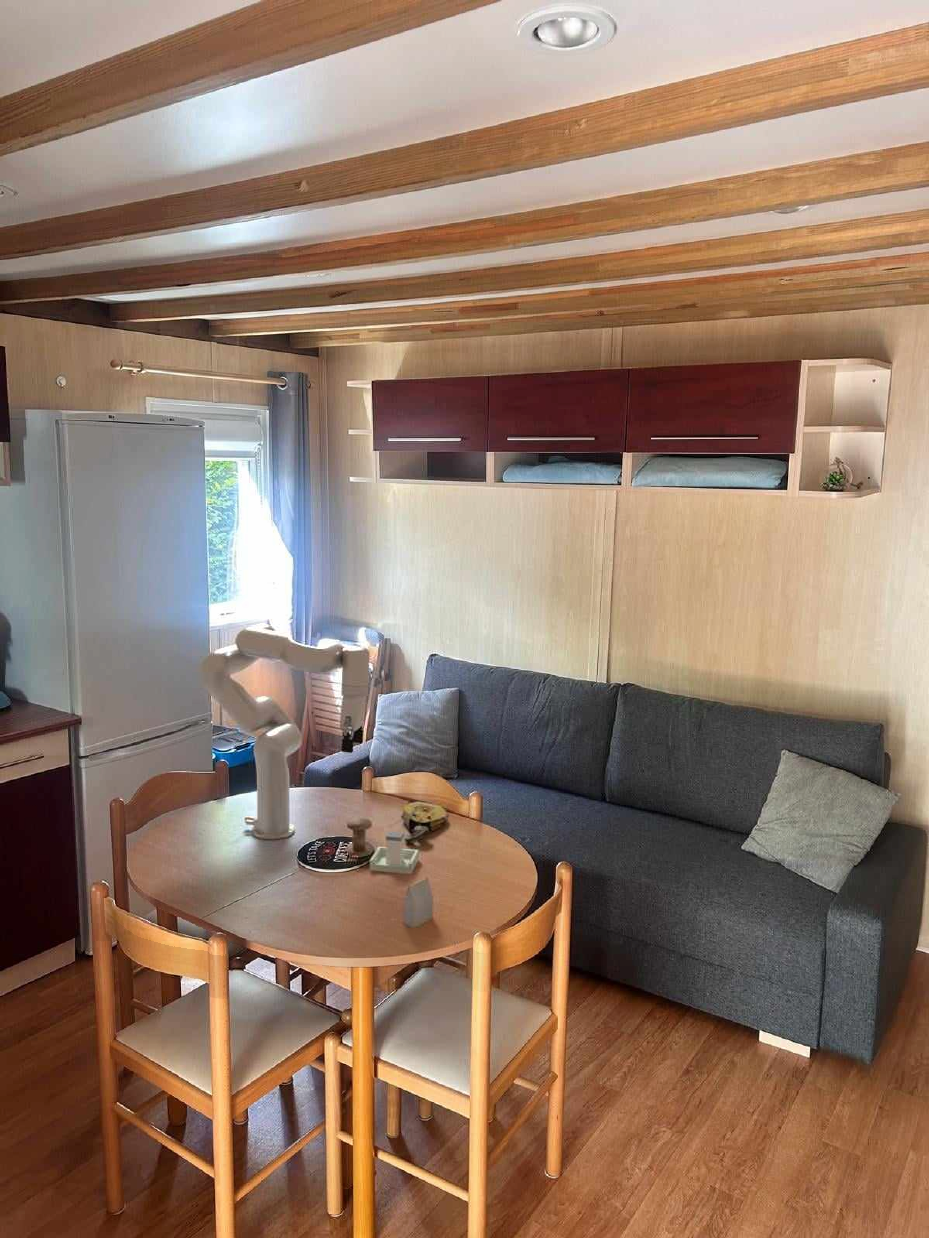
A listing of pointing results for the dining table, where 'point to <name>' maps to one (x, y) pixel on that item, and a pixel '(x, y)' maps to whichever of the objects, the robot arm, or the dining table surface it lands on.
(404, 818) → the pulley block
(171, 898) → the dining table surface
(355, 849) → the knob
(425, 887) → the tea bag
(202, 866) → the dining table surface
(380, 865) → the open tray
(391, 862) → the white grey rectangular block
